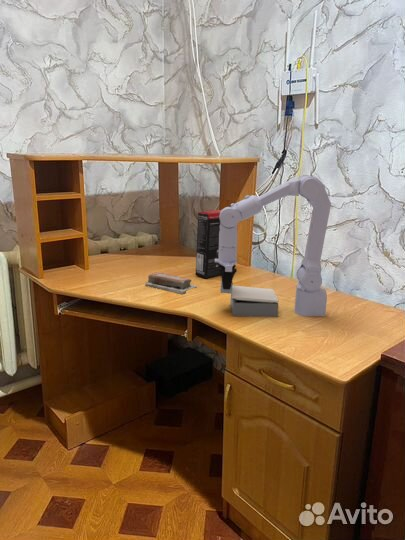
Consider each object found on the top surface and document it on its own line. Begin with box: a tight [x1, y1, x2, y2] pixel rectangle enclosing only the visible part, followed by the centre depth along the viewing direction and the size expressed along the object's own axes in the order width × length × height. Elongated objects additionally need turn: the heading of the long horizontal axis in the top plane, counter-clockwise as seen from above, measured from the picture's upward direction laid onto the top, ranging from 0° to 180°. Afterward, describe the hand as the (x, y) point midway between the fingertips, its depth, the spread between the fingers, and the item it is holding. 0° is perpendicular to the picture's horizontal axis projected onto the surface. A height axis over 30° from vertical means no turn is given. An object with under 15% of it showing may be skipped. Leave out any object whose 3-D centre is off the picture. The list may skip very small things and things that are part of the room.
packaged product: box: [145, 271, 198, 295], centre depth 161 cm, size 18×5×10 cm
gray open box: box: [230, 294, 279, 318], centre depth 136 cm, size 14×11×5 cm
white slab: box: [219, 279, 280, 304], centre depth 135 cm, size 18×11×4 cm, turn 90°
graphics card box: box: [195, 209, 222, 279], centre depth 176 cm, size 17×7×27 cm, turn 135°
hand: (226, 287), depth 135 cm, fingers closed on white slab, 2 cm apart
